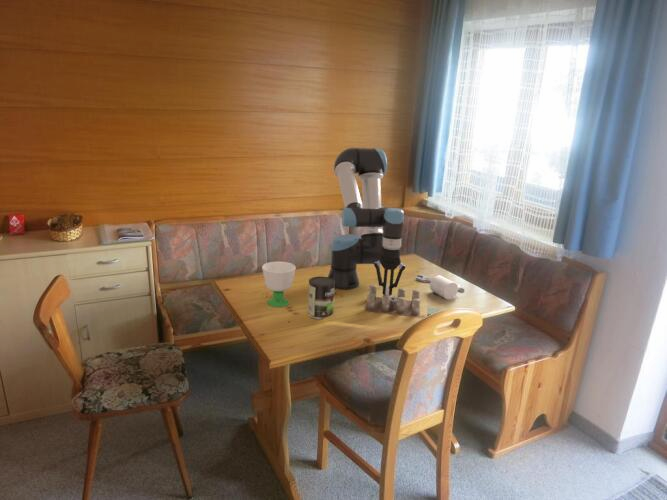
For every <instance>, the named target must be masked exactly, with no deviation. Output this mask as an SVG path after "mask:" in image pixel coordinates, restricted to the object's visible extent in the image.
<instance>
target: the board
mask: <svg viewBox="0 0 667 500" xmlns="http://www.w3.org/2000/svg"><path fill="white" fill-rule="evenodd" d="M377 288H378V286H377V285H376V284H370V285H369V292H368V294H367V299H366V305H365V308H364V312H367V313H376V314H385V315H395V316H403V317H411V318H421V310H420V309H421V307H420V306H421V300H420V294H421V291H420V290H419V289H416V288H415V289H412V296H411V300H407V299H406V288H403V287H398V289H397V297H398V298H397V308H396V309H392V308H389V302H390V297H391V295H389V296H387V295H383V294H382V297H379V296H377V292H378V289H377Z"/></svg>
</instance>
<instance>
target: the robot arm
mask: <svg viewBox="0 0 667 500" xmlns="http://www.w3.org/2000/svg"><path fill="white" fill-rule="evenodd" d="M387 160H388V159H387V155H386V152H385V151H384V150H383V149H381V148H374V147H373V148H368V147H367V148H365V147H364V148H362V147H361V148H360V147H358V148H357V147H349V148H346V149H344V150H343V151H341V152H340V153H339V154H338V155H337V156H336V158H335V160H334V164H333V169H334V170H333V171H334V175H335V176H336V177H337V178H338V184H339V188H340V192H341V197H342V200H343V205H344V208H343V209H342V210H341V223H342V225H343V226H344V227H349V228H363V232H362V233H361V234H360V238H359V236H358V235H356V234H351V233H348V234H347V233H345V234H340V235H336V237H334V238H333V239H332V242H331V256H330V257H331V258H330V259H331V260H330V270H329V273H327V277H329V278H332V279H334V280H335V291H336V290H341V291H342V290H353V289H356V288H358V287H359V286H360V280H359V275H358V273H357V265H373V266H374V268H375V270H376V276H377V277H376V278H377V281H378V282H377V283H378V286H380V287H381V288H382V296H383V295H387V296H389V295H390V296H392V295H393V289H394V288H397V287H398V285H399V282H400V279H401V276H402V274H403V271H404V270H405V269H406V264H403V262H401V247H402V238H403V229H404V227H403V226H404V220H405V216H404V215H405V212H404V210H403V209H401V208H397V207H387V206H382V189H381V180H382V179H383V178H384V175H385V174H386V173H387V171H388V161H387ZM356 174H357V175H358V179H359V180H360V182H361V190H362V192H361V193H362V197H361V194H360V190H359V186H358V182H357V178H356ZM380 266H382V267H383V269H384V271H383V277H382V272H381V267H380ZM397 268H399V270H398V272H397V275H396V279H395V281H394V274H395V270H396V269H397ZM389 271H390V276H389V286H388V285H387V283H388V273H389ZM382 278H383V279H382Z"/></svg>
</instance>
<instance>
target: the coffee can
mask: <svg viewBox="0 0 667 500" xmlns="http://www.w3.org/2000/svg"><path fill="white" fill-rule="evenodd" d="M335 291H336V290H335V280H334V279H332V278H329V277H328V276H313V277H310V278H309V280H308V299H307V300H308V301H307V303H308V306H307V315H308V316H309V317H310V318H312V319H316V320H324V318H328V317H330V316H332V315H334V311H335V310H334V308H335V305H334V304H335Z"/></svg>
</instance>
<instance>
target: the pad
mask: <svg viewBox="0 0 667 500" xmlns="http://www.w3.org/2000/svg"><path fill="white" fill-rule="evenodd" d="M426 310H427V311H426V313H427V317H429V316H428V315H431V314H434V313H436V312H439V311H441V308H440V307H432V306H431V307H430V306H427V307H426ZM441 312H442V311H441Z"/></svg>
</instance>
